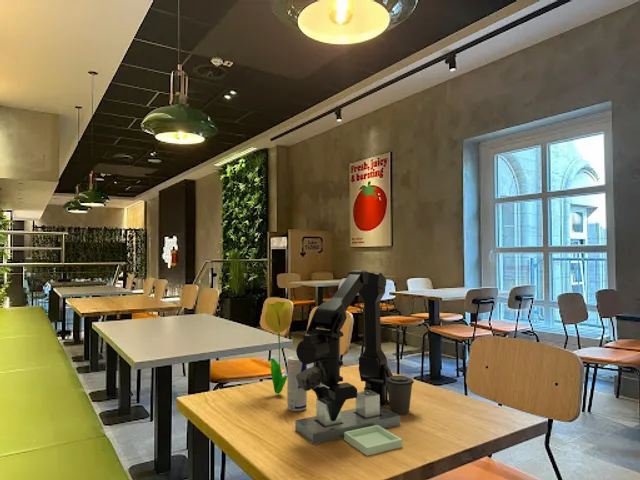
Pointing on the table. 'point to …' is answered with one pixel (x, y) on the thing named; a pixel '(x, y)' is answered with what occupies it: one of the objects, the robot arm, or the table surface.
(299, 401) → the beverage can
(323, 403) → the nut
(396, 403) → the coffee cup
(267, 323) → the flower
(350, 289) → the robot arm
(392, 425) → the grey socket board
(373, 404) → the nut
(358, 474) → the table surface
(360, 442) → the tray
